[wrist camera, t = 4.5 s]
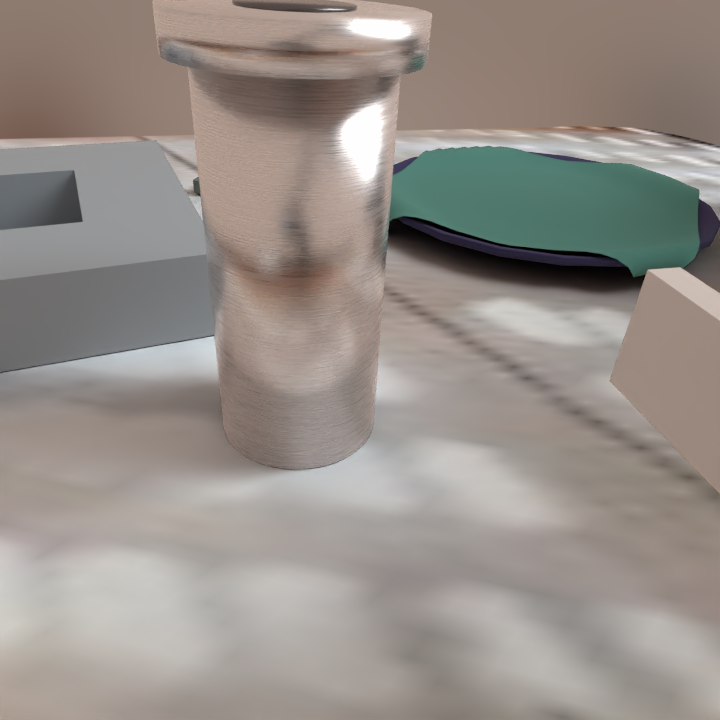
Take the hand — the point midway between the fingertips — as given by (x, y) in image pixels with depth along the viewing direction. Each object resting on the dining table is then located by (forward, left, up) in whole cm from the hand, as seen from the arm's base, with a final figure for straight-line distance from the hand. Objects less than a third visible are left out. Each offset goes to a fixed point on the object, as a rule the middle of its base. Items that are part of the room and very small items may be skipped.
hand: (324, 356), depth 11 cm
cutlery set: (-18, -24, -8) cm, 31 cm away
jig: (+7, -20, -7) cm, 23 cm away
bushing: (-2, -6, -7) cm, 10 cm away
